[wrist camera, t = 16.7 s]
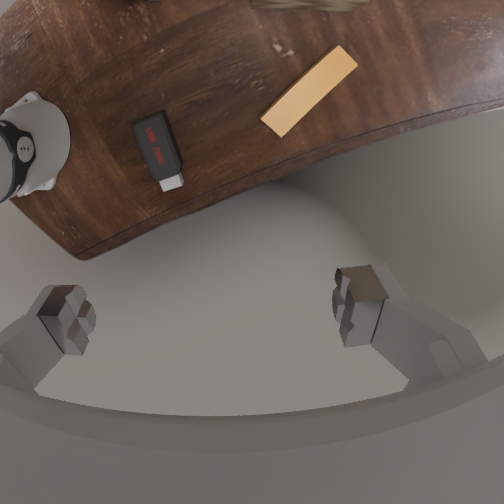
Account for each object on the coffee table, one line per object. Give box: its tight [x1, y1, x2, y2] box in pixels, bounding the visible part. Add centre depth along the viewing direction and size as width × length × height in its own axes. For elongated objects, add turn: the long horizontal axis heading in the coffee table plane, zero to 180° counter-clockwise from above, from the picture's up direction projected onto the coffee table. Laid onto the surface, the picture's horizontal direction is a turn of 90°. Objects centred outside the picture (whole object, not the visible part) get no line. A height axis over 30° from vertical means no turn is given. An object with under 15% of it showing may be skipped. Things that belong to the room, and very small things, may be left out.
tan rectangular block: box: [260, 45, 358, 138], centre depth 36 cm, size 4×16×3 cm, turn 138°
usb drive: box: [132, 110, 184, 192], centre depth 41 cm, size 5×12×3 cm, turn 15°
